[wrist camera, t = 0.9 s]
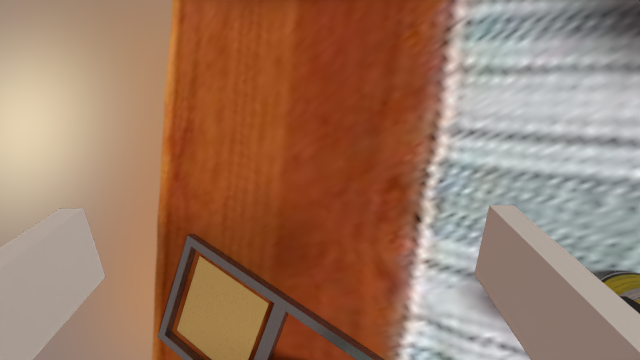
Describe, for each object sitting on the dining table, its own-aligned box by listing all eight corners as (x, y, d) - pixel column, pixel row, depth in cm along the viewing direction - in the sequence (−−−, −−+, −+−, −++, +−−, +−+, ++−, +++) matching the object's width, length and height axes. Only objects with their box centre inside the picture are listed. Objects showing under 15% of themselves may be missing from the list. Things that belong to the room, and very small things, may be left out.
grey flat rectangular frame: (194, 233, 42) (187, 235, 41) (417, 381, 30) (415, 388, 29) (164, 333, 45) (157, 336, 44) (357, 502, 33) (354, 512, 32)
